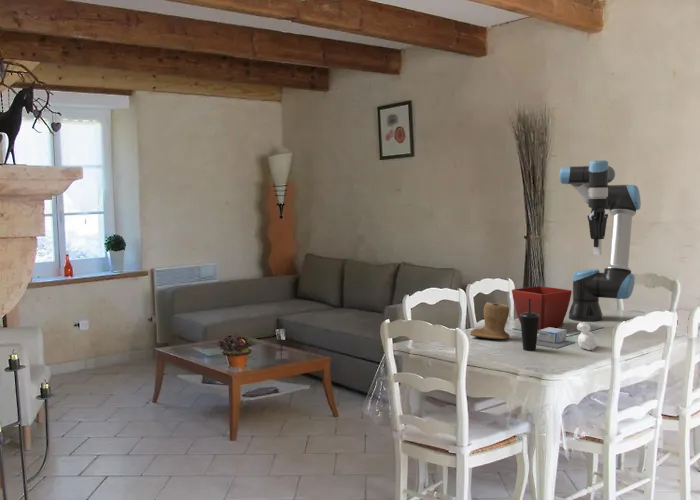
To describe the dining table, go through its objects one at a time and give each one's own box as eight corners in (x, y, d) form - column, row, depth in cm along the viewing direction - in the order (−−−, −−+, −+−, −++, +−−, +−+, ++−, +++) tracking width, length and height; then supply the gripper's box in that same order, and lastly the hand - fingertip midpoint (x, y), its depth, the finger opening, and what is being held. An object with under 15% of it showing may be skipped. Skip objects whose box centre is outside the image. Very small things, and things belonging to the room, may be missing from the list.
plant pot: (539, 320, 324) (539, 285, 323) (572, 327, 308) (572, 290, 307) (510, 326, 314) (510, 289, 312) (543, 333, 298) (543, 294, 296)
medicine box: (549, 337, 288) (538, 340, 282) (549, 326, 288) (538, 330, 282) (566, 339, 282) (555, 343, 276) (566, 329, 282) (555, 332, 276)
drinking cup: (520, 351, 266) (520, 300, 264) (518, 347, 274) (518, 297, 272) (540, 351, 265) (541, 300, 263) (538, 347, 273) (538, 297, 271)
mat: (539, 336, 290) (539, 336, 290) (574, 342, 279) (574, 341, 279) (522, 342, 282) (522, 341, 282) (557, 348, 270) (557, 347, 270)
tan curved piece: (513, 336, 292) (513, 301, 291) (503, 342, 282) (503, 306, 281) (480, 333, 300) (480, 299, 299) (469, 338, 290) (469, 303, 289)
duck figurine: (589, 350, 275) (571, 326, 278) (605, 340, 272) (587, 316, 274) (583, 357, 265) (564, 332, 267) (599, 346, 261) (581, 322, 264)
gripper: (597, 197, 293) (596, 252, 295) (581, 198, 284) (580, 255, 286) (614, 197, 287) (613, 253, 289) (598, 198, 278) (597, 256, 281)
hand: (597, 254), depth 288 cm, fingers closed
